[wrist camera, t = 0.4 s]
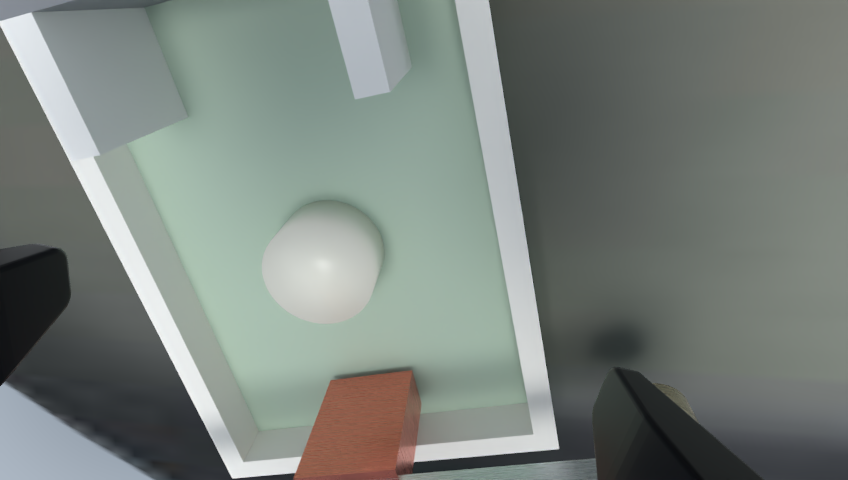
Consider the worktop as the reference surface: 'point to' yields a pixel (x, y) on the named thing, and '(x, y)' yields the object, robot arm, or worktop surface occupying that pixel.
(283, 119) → the pitch
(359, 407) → the cylinder
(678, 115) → the worktop surface
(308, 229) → the puck
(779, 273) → the worktop surface
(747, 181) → the worktop surface
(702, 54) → the worktop surface
